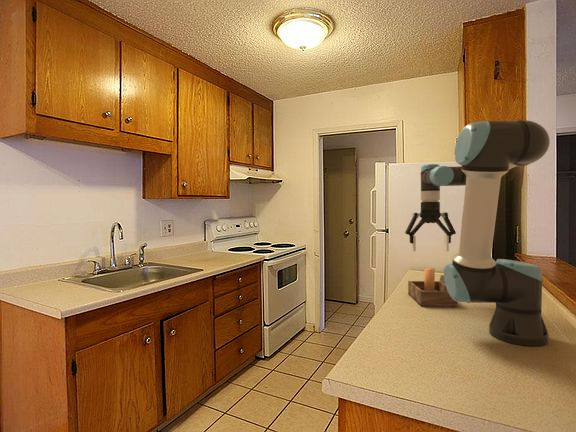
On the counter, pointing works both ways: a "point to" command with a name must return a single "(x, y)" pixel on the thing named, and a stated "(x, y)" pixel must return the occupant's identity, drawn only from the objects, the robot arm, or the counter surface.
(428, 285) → the peg
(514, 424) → the counter surface
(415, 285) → the crate
